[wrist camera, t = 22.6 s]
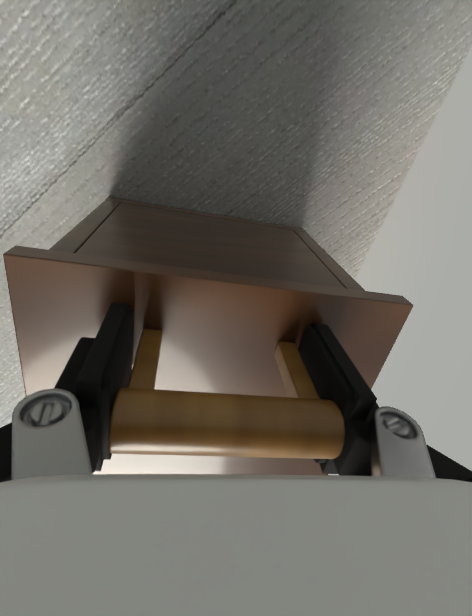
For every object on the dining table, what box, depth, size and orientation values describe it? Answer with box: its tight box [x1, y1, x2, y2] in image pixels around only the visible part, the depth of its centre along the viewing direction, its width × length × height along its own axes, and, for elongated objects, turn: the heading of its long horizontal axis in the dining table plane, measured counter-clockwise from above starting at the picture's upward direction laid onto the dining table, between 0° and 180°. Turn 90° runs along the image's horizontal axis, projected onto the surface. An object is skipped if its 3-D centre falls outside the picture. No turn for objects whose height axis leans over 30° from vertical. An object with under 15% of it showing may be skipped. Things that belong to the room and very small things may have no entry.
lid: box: [3, 246, 413, 475], centre depth 14 cm, size 18×14×5 cm
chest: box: [49, 197, 365, 291], centre depth 22 cm, size 17×14×13 cm
